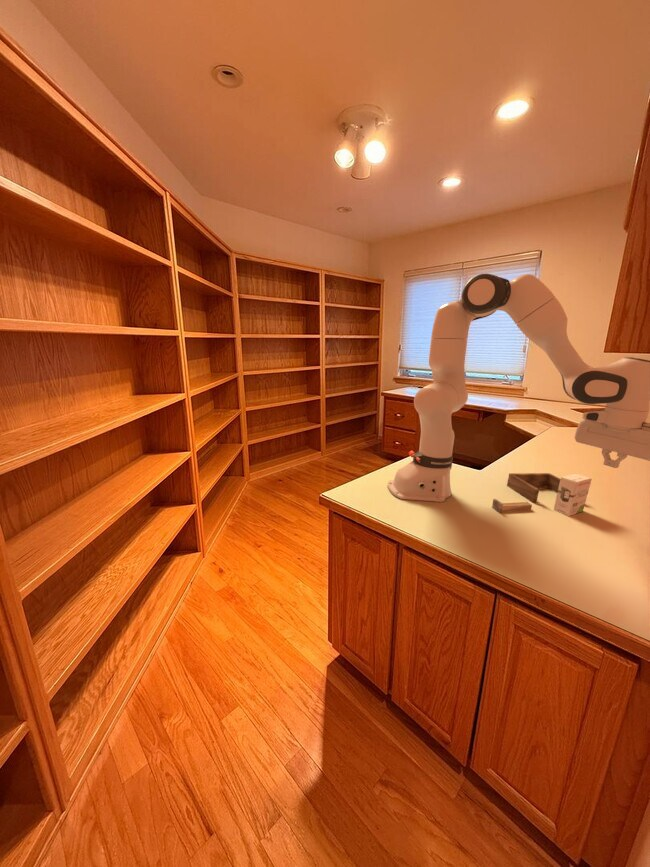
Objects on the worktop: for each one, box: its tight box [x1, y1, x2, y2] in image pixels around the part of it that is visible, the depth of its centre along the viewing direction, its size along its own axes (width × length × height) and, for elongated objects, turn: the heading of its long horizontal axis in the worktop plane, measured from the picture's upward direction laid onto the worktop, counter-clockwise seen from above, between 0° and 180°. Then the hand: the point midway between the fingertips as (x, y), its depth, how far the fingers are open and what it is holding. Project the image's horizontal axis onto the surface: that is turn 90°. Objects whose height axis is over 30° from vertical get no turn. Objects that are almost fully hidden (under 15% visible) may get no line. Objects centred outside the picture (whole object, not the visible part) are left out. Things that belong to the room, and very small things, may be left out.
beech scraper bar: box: [491, 498, 533, 514], centre depth 105 cm, size 4×12×3 cm, turn 98°
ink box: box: [553, 473, 592, 517], centre depth 105 cm, size 9×5×12 cm, turn 116°
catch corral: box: [506, 472, 561, 504], centre depth 118 cm, size 16×14×5 cm
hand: (610, 466), depth 92 cm, fingers closed
